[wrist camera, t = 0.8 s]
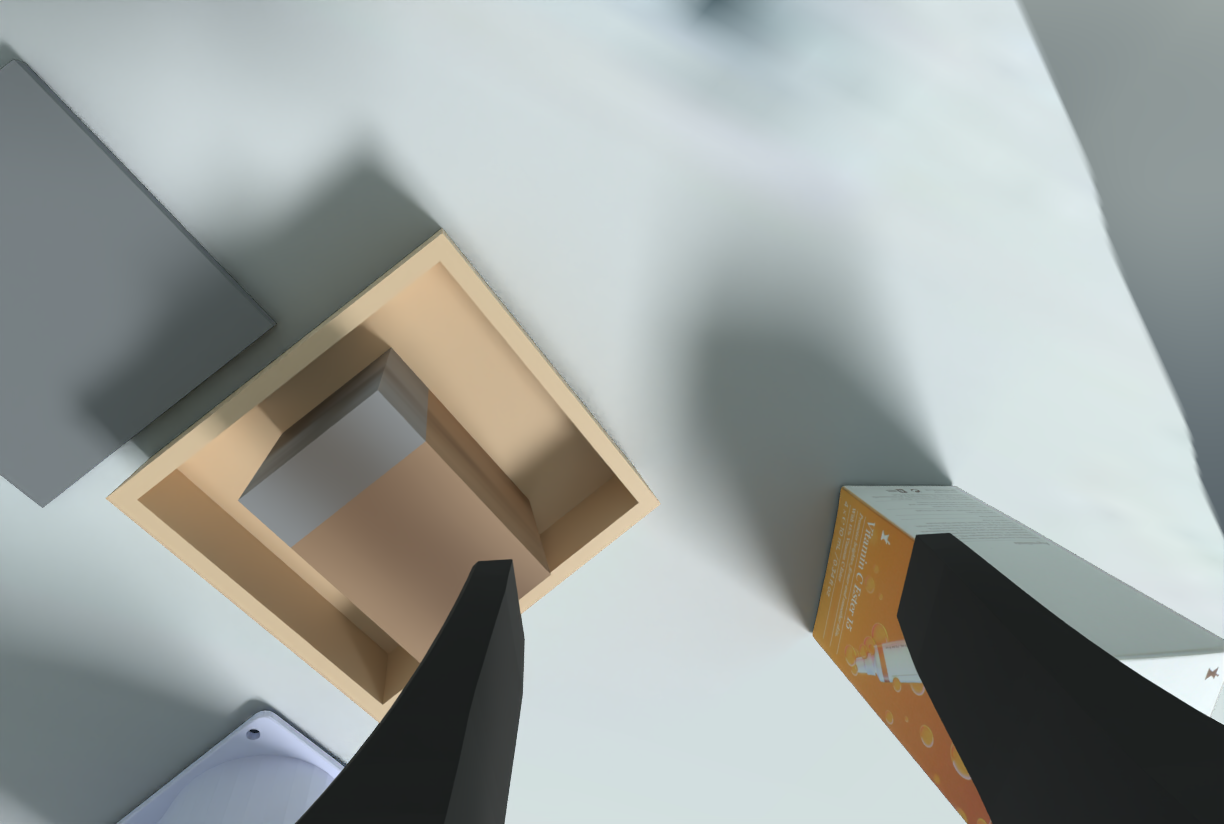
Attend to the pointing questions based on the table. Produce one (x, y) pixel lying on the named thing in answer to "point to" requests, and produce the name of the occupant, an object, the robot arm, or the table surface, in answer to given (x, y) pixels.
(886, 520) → the small box
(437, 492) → the box
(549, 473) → the shallow wooden tray
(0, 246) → the panel
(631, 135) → the table surface
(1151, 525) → the table surface
